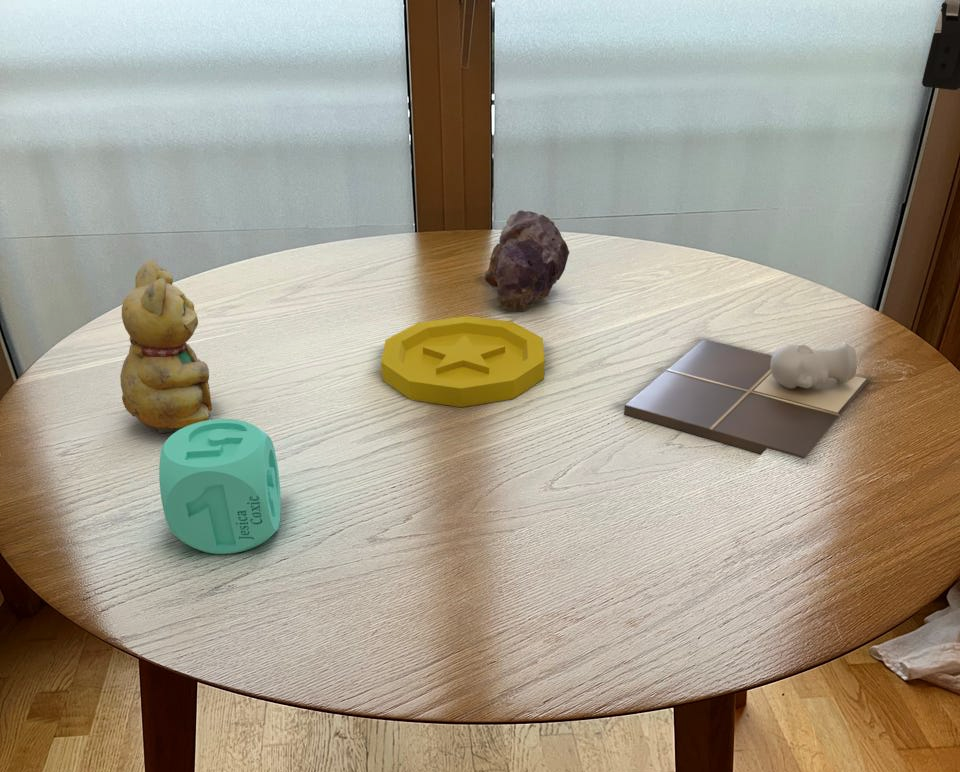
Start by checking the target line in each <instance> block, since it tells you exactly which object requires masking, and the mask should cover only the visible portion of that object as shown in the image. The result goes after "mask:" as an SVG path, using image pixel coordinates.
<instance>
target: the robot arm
mask: <svg viewBox="0 0 960 772" xmlns="http://www.w3.org/2000/svg"><path fill="white" fill-rule="evenodd" d="M940 7H941V9H940V13H939V15H938V18H937V21H936V23H935V27H934V32H933V35H932V39H931V42H930V46H929V51H928V55H927V60H926V63H925V67H924V72H923V75H922V76H923V77H922V80H921V84H922V87H924V88H932V89H941V90H951V91H958V90H959V89H960V0H944V2H942V4H941V6H940Z"/></svg>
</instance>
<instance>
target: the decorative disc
mask: <svg viewBox="0 0 960 772" xmlns="http://www.w3.org/2000/svg"><path fill="white" fill-rule="evenodd" d="M380 364H381V365H380V367H381V378H382V382H385V383H386V384H387V385H388V386H390V387H392V388H393V389H395V390H396V391H397V392H399V393H400V394H401V395H403V396H405V397H406V398H407V399H409V400H411V401H416V402H422V403H423V402H424V403H431V404H437V405H445V406H451V407H459V408H465V407H470V406H471V407H472V406H478V405H484V404H490V403H495V402H501V401H502V402H503V401H509V400H514V399H515V398H517V397H518V396H520V395H522V394H523V393H525V392H527V390H529V389H532V387H533V386H536V384H538V383H540V382H541V381H543V380H544V379H545V347H544V338H543V337H542V336H540V335H538V334H536V333H534V332H532V331H530V330H529V329H527V328H525V327H523V326H521V325H519V324H518V323H516V322H514V321H509V320H501V319H494V318H487V317H485V318H484V317H477V316H469V315H462V316H456V317H449V318H442V319H435V320H428V321H427V320H426V321H420V322H416V323H414V324H413V325H411V326H409V327H408V328H405V329H403V330H401V331H399V332H398V333H395V334H394V335H392V336H390V337H388V338H386V339H385V341H384V346H383V351H382V355H381V360H380Z"/></svg>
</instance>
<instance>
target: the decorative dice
mask: <svg viewBox="0 0 960 772" xmlns="http://www.w3.org/2000/svg"><path fill="white" fill-rule="evenodd" d="M158 465H159V466H158V480H159V491H160V498H161V505H162V510H163V514H164V517H165V518H164V519H165V521H166V523H167V526H168V528H169V530H170V532H171V533H172V535H174V536H175V537H176V538H177V539H178V540H180V541H181V542H183V543H184V544H186V545H187V546H189V547H190V548H193V549H196V550H198V551H200V552H204V553H206V554H215V555H230V554H236V553H237V554H238V553H242V552H245V551H249V550H252V549H255V548H256V547H258V546H261V545H262V544H263V543H265V542H267V541H268V540H270V538H271V537H272V536H273V535H274V534H275V533H277V531H278V530H279V527H280V521H281V509H282V508H281V506H282V504H281V500H282V499H281V483H280V474H279V466H278V460H277V454H276V450H275V446H274V443H273V440H272V438H271V436H269V435H268V434H267V433H266V432H265V431H263V430H262V429H261V428H259V427H257V426H255V425H254V424H252V423H250V422H248V421H245V420H241V419H232V418H216V419H214V418H213V419H209V420H207V421H202V422H198V423H194V424H191V425H188V426H186V427H184V428H182V429H180V430H178V431H174V432H173V433H172V434H171V435H169V436H168V438H167V439H166V440H165V441H164V443H163V444H162V447H161V449H160V455H159V464H158Z"/></svg>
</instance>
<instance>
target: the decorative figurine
mask: <svg viewBox="0 0 960 772" xmlns="http://www.w3.org/2000/svg"><path fill="white" fill-rule="evenodd" d="M173 279H174V278H173V275H172V273H171V272H170V271H169V270H168V269H167V268H164V267H161V266H159V267H158V263H157V260H156V259H148V260H147V261H145V262H144V263H143V264H142V265H141V266H140V267H139V269H138V270H137V273H136V275H135V280H134V281H135V284H134V285H135V288H133V289H132V290H131V291H130V292H129V293H127V294H126V296H125V298H124V299H123V302H122V304H121V320H122V324H123V326H124V329H125V330H126V332H127V334H128V336H129V343H130V346H129V350H128V354H127V355H126V357H125V358H124V360H123V362H122V367H121V371H120V375H119V377H120V388H121V391H122V395H121V401H122V404H123V406H124V408H125V410H126V411H127V412H128V413H129V414H130V415H131V416H132V417H134V418H136V419H137V420H138V421H139V422H140V423H142V424H144V426H146V427H148V426H149V427H153V428H155V429H156V432H157V434H165V433H171V432H172V433H173V432H176V431H178V430H180V429H182V428H184V427H186V426H188V425H191V424H194V423H198V422H202V421H207V420H210V415H211V413H210V411H213V405H212V398H211V397H212V396H211V391H210V384H209V380H210V369H209V365H208V364H207V363H206V362H205V361H203V360H201V359H200V358H199V359H198V356H197V354H196V353H195V351H194V350H193V348H192V347H191V346H190V344H188V343H187V342H188V341H189V340H190V339H191V338H192V336H193V335H194V334H195V331H196V330H197V328H198V325H199V318H198V315H197V312H196V310H195V304H194V302H193V301H192V300H191V299H189V298H188V297H187V296H186V295H185V293H184V292H183V291H182V290H181V289H180V288H179V287H178V286H175V285H173V283H174V282H173V281H174V280H173Z"/></svg>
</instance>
